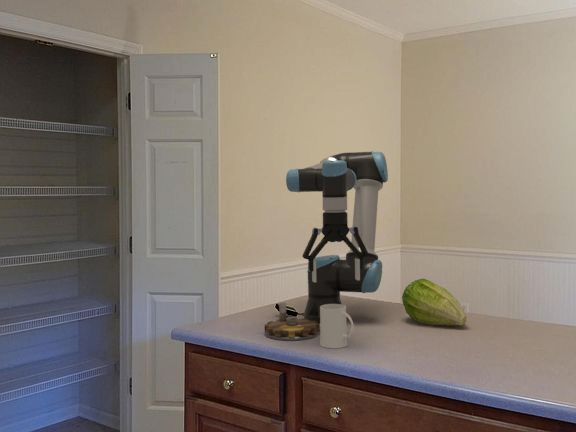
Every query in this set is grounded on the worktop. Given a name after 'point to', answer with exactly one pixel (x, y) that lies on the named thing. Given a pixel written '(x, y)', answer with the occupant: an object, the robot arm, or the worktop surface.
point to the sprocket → (291, 325)
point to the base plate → (296, 338)
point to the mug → (334, 326)
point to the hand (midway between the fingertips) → (336, 280)
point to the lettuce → (432, 304)
